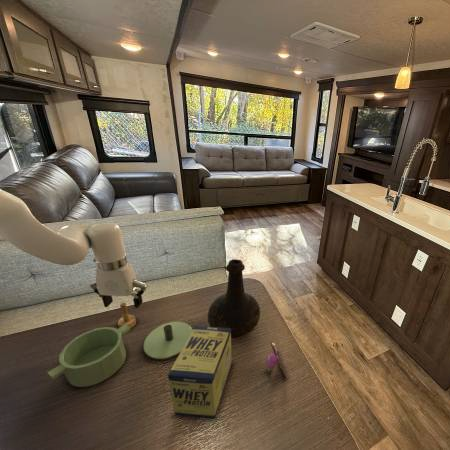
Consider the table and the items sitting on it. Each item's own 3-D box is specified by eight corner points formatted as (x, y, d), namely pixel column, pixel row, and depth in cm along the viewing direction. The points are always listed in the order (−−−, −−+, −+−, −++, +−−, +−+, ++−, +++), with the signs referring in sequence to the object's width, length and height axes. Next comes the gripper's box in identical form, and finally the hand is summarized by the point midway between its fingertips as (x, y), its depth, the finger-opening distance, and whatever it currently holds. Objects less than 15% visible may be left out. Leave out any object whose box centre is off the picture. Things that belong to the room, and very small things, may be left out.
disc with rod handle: (115, 325, 86) (110, 305, 82) (130, 317, 90) (126, 297, 86) (124, 332, 84) (119, 311, 80) (139, 322, 88) (134, 302, 84)
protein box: (174, 416, 62) (166, 375, 56) (199, 361, 76) (195, 323, 70) (215, 420, 62) (212, 379, 56) (232, 364, 77) (231, 326, 70)
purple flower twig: (282, 364, 71) (273, 340, 78) (266, 374, 69) (257, 348, 77) (288, 376, 74) (278, 352, 82) (272, 386, 73) (264, 360, 80)
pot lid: (134, 346, 79) (130, 333, 77) (174, 318, 91) (172, 305, 89) (164, 368, 73) (161, 354, 71) (202, 335, 85) (201, 322, 83)
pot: (45, 379, 68) (36, 360, 65) (119, 332, 83) (114, 315, 80) (70, 406, 62) (61, 386, 59) (144, 350, 78) (140, 333, 75)
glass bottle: (203, 319, 92) (197, 254, 81) (248, 304, 101) (249, 244, 90) (217, 356, 78) (213, 285, 67) (267, 334, 88) (271, 269, 77)
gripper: (73, 267, 73) (88, 312, 79) (134, 270, 74) (144, 313, 81) (92, 254, 79) (104, 296, 86) (147, 256, 81) (155, 298, 87)
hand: (124, 304), depth 83 cm, fingers open, 9 cm apart
